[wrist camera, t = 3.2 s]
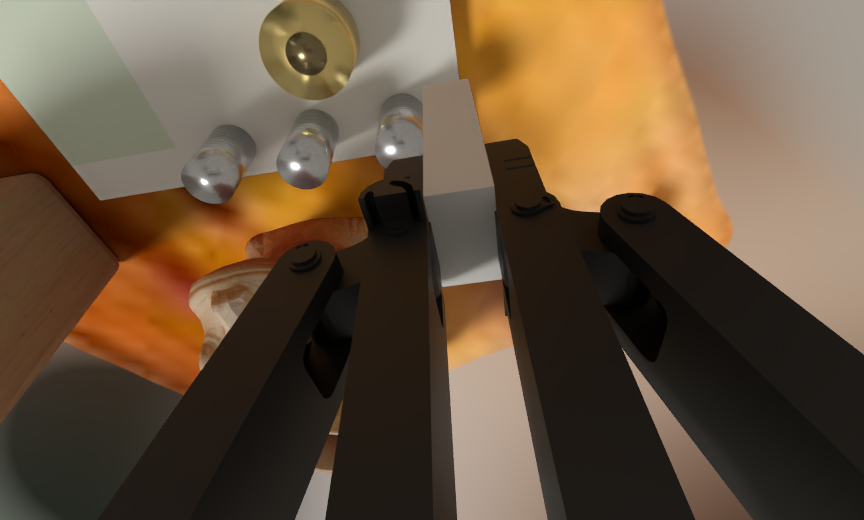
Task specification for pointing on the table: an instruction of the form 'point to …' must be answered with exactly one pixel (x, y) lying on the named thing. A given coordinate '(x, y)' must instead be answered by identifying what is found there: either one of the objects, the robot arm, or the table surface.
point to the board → (197, 80)
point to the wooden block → (42, 278)
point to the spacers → (299, 149)
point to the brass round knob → (309, 47)
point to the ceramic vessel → (237, 283)
